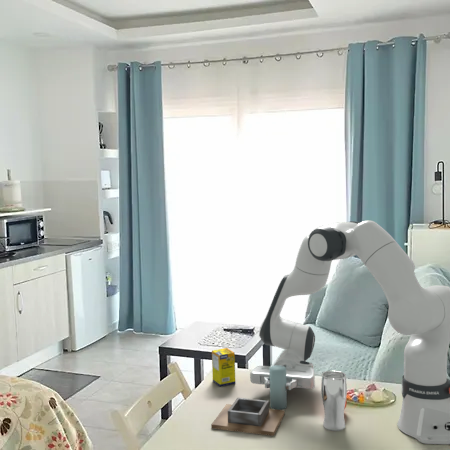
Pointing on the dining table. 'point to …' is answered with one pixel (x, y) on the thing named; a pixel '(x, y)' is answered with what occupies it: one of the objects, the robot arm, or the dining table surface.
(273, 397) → the teal cylinder
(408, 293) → the robot arm
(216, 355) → the supplement box
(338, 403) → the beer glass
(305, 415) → the dining table surface
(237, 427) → the cup bracket
